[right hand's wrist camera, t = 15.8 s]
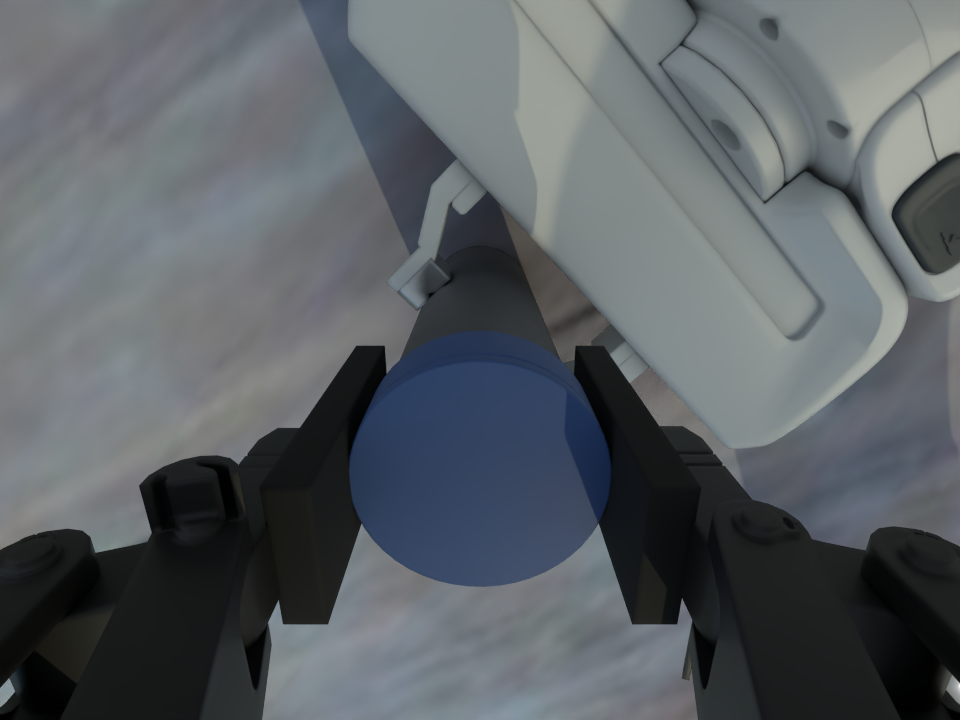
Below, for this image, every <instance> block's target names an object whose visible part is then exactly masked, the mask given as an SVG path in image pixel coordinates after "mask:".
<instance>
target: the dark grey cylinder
mask: <svg viewBox="0 0 960 720" xmlns="http://www.w3.org/2000/svg"><path fill="white" fill-rule="evenodd" d="M446 262H447V263H448V265H449V266H450V267H451V268H452V269H453V271H452V273H451V278H450V280H449V281H448V282H447V283H446V284H445V285H444V286H443V287H442V288H441V289H439V290H438V291H437V292H434V293H431V294H430V297H429V299H428V301H427V302H426V303H425V304H424V305H423V306H422V308H421V311H420V313H419V315H418V318H417V320H416V323H415V325H414V328H413V330H412V332H411V335H410V337H409V340H408V342H407V344H406V347H405V349H404V352H403V354H402V356H401V359H402V358H403V357H404V356H406V355H407V354H408V353H410V352H411V351H413V350H414V349H416V348H417V347H419V346H421V345H423V344H425V343H427V342H429V341H432V340H434V339H437V338H440V337H443V336H446V335H450V334H455V333H459V332H469V331H493V332H499V333H506V334H510V335H514V336H517V337H520V338H524V339H526V340H528V341H530V342H533V343H535V344H537V345H539V346H541V347H542V348H544V349H546V350H547V351H549V352H551V353H552V354H553V355H554V356H556V357H557V358H558V359H559V360H560V358H559V356H558V353H557V351H556V348H555V346H554V344H553V341H552V339H551V336H550V334H549V332H548V329H547V327H546V324H545V322H544V319H543V317H542V315H541V312H540V310H539V307H538V305H537V303H536V300H535V298H534V295H533V293H532V291H531V288H530V286H529V283H528V281H527V279H526V276H525V274H524V272H523V270H522V269H521V267H520V266H519V265H518V263H517V262H516V261H515V260H514V259H513V258H511V257H510V256H509V255H507V254H506V253H504V252H502V251H500V250H497V249H494V248H490V247H481V246H477V247H470V248H466V249H463V250H460V251H458V252H456V253H455V254H453V255H452V256H450V257H449V258H448V259H447V260H446ZM401 359H400V360H401Z"/></svg>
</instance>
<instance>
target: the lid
mask: <svg viewBox="0 0 960 720" xmlns="http://www.w3.org/2000/svg"><path fill="white" fill-rule="evenodd" d="M611 469H612V463H611V457H610V451H609V447H608V444H607V441H606V438H605V435H604V433H603V431H602V429H601V427H600V424H599V422H598V420H597V418H596V416H595V413H594V411H593V409H592V407H591V405H590V403H589V400H588V398H587V396H586V394H585V392H584V390H583V388H582V386H581V384H580V383H579V381H578V380H577V379H576V377H575V376H574V374H573V373H572V372H571V371H570V370H569V369H568V367H567V366H566V365H565V364H564V363H563V362H562V361H561V360H559V359H558V358H557V357H556V356H554V355H553V354H552V353H551V352H549V351H547V350H546V349H544V348H542V347H541V346H539V345H537V344H535V343H533V342H530V341H528V340H526V339H524V338H520V337H517V336H514V335H510V334H506V333H499V332H493V331H469V332H459V333H455V334H450V335H446V336H443V337H440V338H437V339H434V340H432V341H429V342H427V343H425V344H423V345H421V346H419V347H417V348H416V349H414V350H413V351H411V352H410V353H408V354H407V355H406V356H404V357H403V358H402V359H401V360H400V361H399V362H398V363H396V364H395V365H394V366H393V367H392V368H391V370H390V371H389V372H388V373H387V375H386V376H385V377H384V378H383V380H382V382H381V383H380V385H379V387H378V388H377V390H376V392H375V394H374V396H373V398H372V401H371V403H370V405H369V407H368V409H367V411H366V413H365V416H364V418H363V420H362V422H361V424H360V426H359V428H358V431H357V433H356V436H355V438H354V440H353V443H352V447H351V452H350V456H349V476H350V486H351V495H352V502H353V505H354V508H355V510H356V513H357V515H358V517H359V519H360V521H361V523H362V525H363V526H364V528H365V530H366V531H367V532H368V534H369V535H370V536H371V538H372V539H373V540H374V541H375V542H376V543H377V544H378V545H379V546H380V547H381V549H382V550H383V551H385V552H386V553H387V554H388V555H389V556H391V557H392V558H393V559H394V560H396V561H397V562H399V563H400V564H402V565H404V566H405V567H407V568H408V569H410V570H413V571H415V572H417V573H419V574H421V575H423V576H426V577H429V578H432V579H434V580H437V581H441V582H446V583H450V584H455V585H463V586H480V587H485V586H498V585H505V584H510V583H515V582H519V581H522V580H526V579H529V578H532V577H534V576H537V575H539V574H542V573H544V572H546V571H548V570H550V569H551V568H553V567H555V566H557V565H558V564H560V563H561V562H563V561H564V560H566V559H567V558H568V557H570V556H571V555H572V554H573V553H574V552H575V551H576V550H578V549H579V548H580V547H581V546H582V545H583V544H584V542H585V541H586V540H587V539H588V538H589V537H590V535H591V534H592V533H593V531H594V529H595V528H596V526H597V525H598V523H599V521H600V519H601V517H602V515H603V513H604V511H605V508H606V505H607V502H608V498H609V490H610V481H611Z"/></svg>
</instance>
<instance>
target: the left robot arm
mask: <svg viewBox="0 0 960 720" xmlns="http://www.w3.org/2000/svg"><path fill="white" fill-rule="evenodd" d="M348 37H349V40H350V42H351V43H352V45H353V46H354V47H355V48H356V49H357V50H358V51H359V52H360V53H361V54H362V55H363V56H364V58H365V59H366V60H367V61H368V62H369V63H370V64H371V65H372V66H373V67H374V68H375V69H376V71H377V72H378V73H379V74H380V75H381V76H382V77H383V78H384V79H385V80H386V81H387V82H388V83H389V85H390V86H391V87H392V88H393V89H394V90H395V91H396V92H397V93H398V94H399V95H400V96H401V98H402V99H403V100H404V101H405V102H406V103H407V104H408V105H409V106H410V107H411V108H412V109H413V111H414V112H415V113H416V114H417V115H418V116H419V117H420V118H421V119H422V120H423V121H424V122H425V124H426V125H427V126H428V127H429V128H430V129H431V130H432V131H433V132H434V133H435V134H436V135H437V136H438V138H439V139H440V140H441V141H442V142H443V143H444V144H445V145H446V146H447V147H448V148H449V149H450V151H451V152H452V153H453V154H454V155H455V156H456V157H457V159H456V160H455V161H454V162H453V163H452V164H451V165H450V166H449V167H448V168H447V169H446V170H445V171H444V172H443V174H442V175H441V176H440V177H439V178H438V179H437V180H436V181H435V182H434V183H433V184H432V185H431V189H430V193H429V198H428V202H427V206H426V210H425V215H424V219H423V223H422V228H421V232H420V236H419V240H418V246H419V248H418V249H417V250H416V251H415V252H414V253H413V254H412V255H411V256H410V257H409V258H408V259H407V260H406V261H405V262H404V263H403V264H402V265H401V266H400V267H399V268H398V269H397V271H396V272H395V273H394V274H393V275H392V276H391V277H390V278H389V280H388V281H387V283H388V284H389V286H390V287H391V288H392V289H393V290H394V291H395V292H397V293H398V294H399V295H400V296H401V297H402V298H403V299H405V300H406V301H407V302H408V303H409V304H410V305H411V306H412V307H413V308H414V309H415V310H419V309H420V308H421V307H422V306H423V305H424V304H425V303H426V302H427V301H428V299H429V297H430V294H431V293H434V292H437V291H438V290H439V289H441V288H442V287H443V286H444V285H445V284H446V283H447V282H448V281H449V280H450V278H451V273H452V271H453V269H452V268H451V267H450V266H449V265H448V263H447V262H446V261H445V260H444V259H443V258H442V257H441V256H440V255H439V254H438V252H439V248H440V245H441V241H442V237H443V233H444V229H445V225H446V221H447V218H448V214H449V210H450V206H451V202H452V207H453V208H454V209H455V210H456V211H457V212H458V213H459V214H466V213H467V212H468V211H469V210H470V209H471V208H472V207H473V206H474V205H475V204H476V203H477V202H478V201H479V200H480V199H481V198H482V197H483V196H484V195H485V194H486V193H487V192H489V193H490V194H491V195H492V196H493V197H494V198H495V199H496V200H497V201H498V202H499V204H500V205H501V206H502V207H503V208H504V209H505V210H506V211H507V212H508V213H509V214H510V215H511V216H512V218H513V219H514V220H515V221H516V222H517V223H518V224H519V225H520V226H521V227H522V228H523V229H524V231H525V232H526V233H527V234H528V235H529V236H530V237H531V238H532V239H533V240H534V241H535V242H536V243H537V245H538V246H539V247H540V248H541V249H542V250H543V251H544V252H545V253H546V254H547V255H548V256H549V258H550V259H551V260H552V261H553V262H554V263H555V264H556V265H557V266H558V267H559V268H560V269H561V271H562V272H563V273H564V274H565V275H566V276H567V277H568V278H569V279H570V280H571V281H572V282H573V283H574V285H575V286H576V287H577V288H578V289H579V290H580V291H581V292H582V293H583V294H584V295H585V296H586V298H587V299H588V300H589V301H590V302H591V303H592V304H593V305H594V306H595V307H596V308H597V309H598V311H599V312H600V313H601V314H602V315H603V316H604V317H605V318H606V319H607V320H608V321H609V322H610V323H611V324H610V325H609V326H608V327H607V328H606V329H605V330H604V331H603V332H602V333H600V334H599V335H598V336H597V337H596V338H595V339H594V340H593V341H592V343H591V345H592V346H604V347H605V348H606V350H607V351H608V353H609V354H610V356H611V357H612V358H613V360H614V361H615V363H616V364H617V366H618V367H619V369H620V370H621V372H622V373H623V374H624V376H625V377H626V379H627V380H628V382H629V383H630V382H632V381H633V380H634V379H635V378H637V377H638V376H639V375H640V374H641V373H643V372H644V371H645V370H646V369H648V368H649V367H651V368H652V369H653V370H654V371H655V372H656V373H657V374H658V375H659V376H660V378H661V379H662V380H663V381H664V382H665V383H666V384H667V385H668V386H669V387H670V388H671V389H672V390H673V392H674V393H675V394H676V395H677V396H678V397H679V398H680V399H681V400H682V401H683V402H684V403H685V405H686V406H687V407H688V408H689V409H690V410H691V411H692V412H693V413H694V414H695V415H696V416H697V417H698V419H699V420H700V421H701V422H702V423H703V424H704V425H705V426H706V427H707V428H708V429H709V430H710V431H711V433H712V434H713V435H714V436H715V437H716V438H717V439H718V440H719V441H720V442H721V443H722V444H723V445H724V446H725V447H726V448H729V449H743V448H753V447H761V446H765V445H768V444H770V443H772V442H774V441H776V440H778V439H779V438H781V437H783V436H784V435H786V434H787V433H789V432H790V431H792V430H793V429H794V428H796V427H797V426H799V425H800V424H802V423H803V422H804V421H806V420H807V419H809V418H810V417H811V416H813V415H814V414H815V413H817V412H818V411H819V410H821V409H822V408H823V407H825V406H826V405H827V404H829V403H830V402H831V401H832V400H834V399H835V398H836V397H837V396H839V395H840V394H841V393H842V392H844V391H845V390H846V389H848V388H849V387H850V386H851V385H852V384H853V383H855V382H856V381H857V380H858V379H859V378H861V377H862V376H863V375H864V374H865V373H867V372H868V371H869V370H870V369H871V368H872V367H873V366H874V365H876V364H877V363H878V362H879V361H880V360H881V359H882V358H883V357H884V356H885V355H886V353H887V352H888V351H889V350H890V349H891V348H892V346H893V345H894V344H895V342H896V341H897V339H898V338H899V336H900V334H901V332H902V331H903V328H904V326H905V323H906V319H907V315H908V299H907V296H909V297H914V298H919V299H925V300H930V301H935V302H943V301H947V300H950V299H952V298H954V297H956V296H958V295H960V0H348ZM574 363H575V360H573V361H569V362H566V363H564V364H565V365H566V366H567V367H568V369H569V370H570V371H571V372H572V373H573V374H574ZM946 690H947V691H948V693H949V694H950V695H951V696H952V697H953V698H954V699H955V701H956V702H958V703H959V704H960V683H959V682H958V681H957V680H956V679H955V677H954V676H953V675H952V677H951V679H950V682H949V684H948V686H947V688H946Z"/></svg>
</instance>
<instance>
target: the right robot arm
mask: <svg viewBox="0 0 960 720" xmlns="http://www.w3.org/2000/svg"><path fill="white" fill-rule="evenodd" d="M386 375H387V373H386V359H385V346H356V347H355V349H354V350H353V352H352V353H351V355H350V356H349V358H348V359H347V360H346V362H345V363H344V365H343V366H342V368H341V369H340V371H339V372H338V373H337V375H336V376H335V378H334V379H333V381H332V382H331V384H330V385H329V387H328V388H327V389H326V391H325V392H324V394H323V395H322V397H321V398H320V400H319V401H318V402H317V404H316V405H315V407H314V408H313V410H312V411H311V413H310V414H309V416H308V417H307V418H306V420H305V421H304V423H303V424H302V426H301V427H300V428H277V429H275V430H274V431H272V432H271V433H269V434H267V435H266V436H264V437H263V438H261V439H259V440H258V441H257V443H256V444H255V445H254V446H253V448H252V449H251V450H250V451H249V453H248V456H245V458H244V459H243V460H242V461H241V462H240V464H239V465H238V464H237V463H236V462H234V461H233V460H232V459H231V458H227V457H222V456H198V457H193V458H189V459H184V460H180V461H178V462H175V463H172V464H170V465H167V466H164V467H162V468H161V469H159V470H157V471H156V472H154V473H152V474H151V475H149V476H148V477H147V478H146V479H145V480H144V481H143V482H142V483H141V484H140V485H139V487H140V491H141V494H142V498H143V502H144V505H145V509H146V513H147V516H148V520H149V524H150V527H151V531H152V534H151V536H150V538H149V540H148V542H145V543H141V544H137V545H132V546H127V547H122V548H118V549H113V550H108V551H103V552H98V553H95V550H94V547H93V544H92V541H91V538H90V536H88V535H87V534H86V533H84V532H83V531H80V530H73V529H62V530H54V531H46V532H42V533H38V534H37V535H35V534H34V535H31V536H28V537H25V538H23V539H21V540H20V541H18V542H16V543H14V544H11V545H9V546H7V547H5V548H3V549H1V550H0V687H1V686H2V685H3V684H4V683H5V682H6V681H7V680H8V679H9V678H10V681H11V683H12V685H13V687H14V690H15V693H14V694H13V695H12V696H11V697H10V698H9V700H8V701H7V702H6V703H5V704H4V705H3V706H1V707H0V720H262V716H263V708H264V700H265V692H266V684H267V677H268V669H269V661H270V653H271V645H272V644H271V637H270V630H269V625H268V621H269V619H270V617H271V615H272V613H273V610H274V608H275V606H276V604H277V602H278V600H279V604H280V609H281V615H282V621H283V624H328V623H329V620H330V617H331V614H332V611H333V608H334V605H335V601H336V598H337V595H338V592H339V589H340V586H341V583H342V580H343V577H344V574H345V571H346V568H347V565H348V562H349V559H350V556H351V553H352V550H353V547H354V544H355V541H356V538H357V535H358V532H359V529H360V526H361V521H360V519H359V517H358V515H357V513H356V510H355V508H354V505H353V502H352V495H351V486H350V476H349V456H350V452H351V447H352V443H353V440H354V438H355V436H356V433H357V431H358V428H359V426H360V424H361V422H362V420H363V418H364V416H365V413H366V411H367V409H368V407H369V405H370V403H371V401H372V398H373V396H374V394H375V392H376V390H377V388H378V387H379V385H380V383H381V382H382V380H383V378H384V377H385V376H386ZM574 376H575V377H576V379H577V380H578V381H579V383H580V384H581V386H582V388H583V390H584V392H585V394H586V396H587V398H588V400H589V403H590V405H591V407H592V409H593V411H594V413H595V416H596V418H597V420H598V422H599V424H600V427H601V429H602V431H603V433H604V435H605V438H606V441H607V444H608V447H609V451H610V457H611V463H612V469H611V481H610V490H609V498H608V502H607V505H606V508H605V511H604V513H603V515H602V517H601V519H600V521H599V525H600V528H601V531H602V534H603V537H604V540H605V543H606V546H607V549H608V552H609V555H610V558H611V561H612V564H613V567H614V570H615V573H616V576H617V579H618V582H619V586H620V589H621V592H622V595H623V598H624V601H625V604H626V607H627V610H628V613H629V616H630V619H631V622H632V624H677V622H678V617H679V611H680V605H681V600H682V599H683V601H684V603H685V605H686V607H687V609H688V611H689V613H690V616H691V618H692V625H691V630H690V636H689V641H688V646H687V651H686V657H685V662H684V667H683V675H682V679H686V680H689V679H690V674H691V669H692V675H693V683H694V691H695V699H696V707H697V714H698V720H960V704H959V703H958V702H956V701H955V699H954V698H953V697H952V696H951V695H950V694H949V693H948V691H947V690H946V688H947V686H948V684H949V682H950V679H951V677H952V675H953V676H954V677H955V679H956V680H957V681H958V682H959V683H960V547H959V546H957V545H955V544H953V543H951V542H949V541H947V540H944V539H942V538H941V537H939V536H937V535H934V534H931V533H928V532H926V533H925V532H924V531H921V530H917V529H910V528H902V527H894V526H893V527H886V528H879V529H878V530H876V531H875V532H874V533H872V534H871V536H870V539H869V542H868V545H867V549H866V551H864V550H859V549H854V548H849V547H845V546H840V545H835V544H830V543H825V542H821V541H817V540H813V539H811V537H810V535H809V533H808V531H807V530H806V529H805V528H804V526H803V525H802V524H801V523H800V521H798V520H797V519H795V518H794V517H793V516H791V515H790V514H788V513H787V512H785V511H783V510H781V509H779V508H777V507H774V506H772V505H770V504H767V503H763V502H759V501H754V500H752V499H751V498H750V496H749V495H748V494H747V493H746V492H745V490H744V489H743V488H742V487H741V485H740V484H739V483H738V482H737V481H736V479H735V478H734V477H733V476H732V474H731V473H730V472H729V471H728V470H727V468H726V467H725V466H722V462H721V461H720V460H719V459H718V457H717V456H716V455H715V454H713V451H712V450H711V449H710V447H709V446H708V445H707V444H706V443H705V441H704V440H703V439H702V438H701V437H699V436H698V435H696V434H694V433H693V432H691V431H689V430H688V429H686V428H685V427H683V426H659V425H658V424H657V422H656V421H655V419H654V418H653V416H652V415H651V414H650V412H649V411H648V409H647V408H646V406H645V405H644V403H643V402H642V401H641V399H640V398H639V396H638V395H637V393H636V392H635V390H634V389H633V387H632V386H631V385H630V383H629V382H628V380H627V379H626V377H625V376H624V374H623V373H622V372H621V370H620V369H619V367H618V366H617V364H616V363H615V361H614V360H613V358H612V357H611V356H610V354H609V353H608V351H607V350H606V348H605V347H604V346H576V349H575V363H574Z"/></svg>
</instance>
